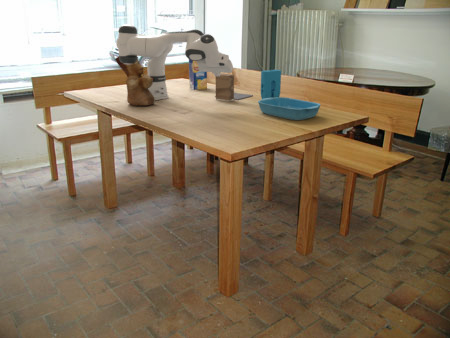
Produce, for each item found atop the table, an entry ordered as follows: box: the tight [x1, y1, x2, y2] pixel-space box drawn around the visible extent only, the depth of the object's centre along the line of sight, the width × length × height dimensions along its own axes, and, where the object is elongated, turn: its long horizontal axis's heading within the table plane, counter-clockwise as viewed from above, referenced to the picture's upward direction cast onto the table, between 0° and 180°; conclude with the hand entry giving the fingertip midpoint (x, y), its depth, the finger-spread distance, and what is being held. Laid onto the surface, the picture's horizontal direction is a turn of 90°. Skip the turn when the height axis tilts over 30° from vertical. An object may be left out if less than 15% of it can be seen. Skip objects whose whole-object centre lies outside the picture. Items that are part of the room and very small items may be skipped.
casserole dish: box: [257, 96, 321, 121], centre depth 247 cm, size 37×22×7 cm, turn 40°
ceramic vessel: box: [115, 56, 156, 106], centre depth 270 cm, size 16×22×30 cm
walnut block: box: [215, 72, 235, 103], centre depth 285 cm, size 6×10×16 cm, turn 53°
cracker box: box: [188, 59, 208, 91], centre depth 326 cm, size 7×11×22 cm, turn 122°
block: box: [260, 69, 282, 99], centre depth 272 cm, size 12×5×20 cm, turn 120°
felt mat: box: [214, 92, 254, 101], centre depth 298 cm, size 18×18×1 cm
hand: (217, 75), depth 266 cm, fingers closed
